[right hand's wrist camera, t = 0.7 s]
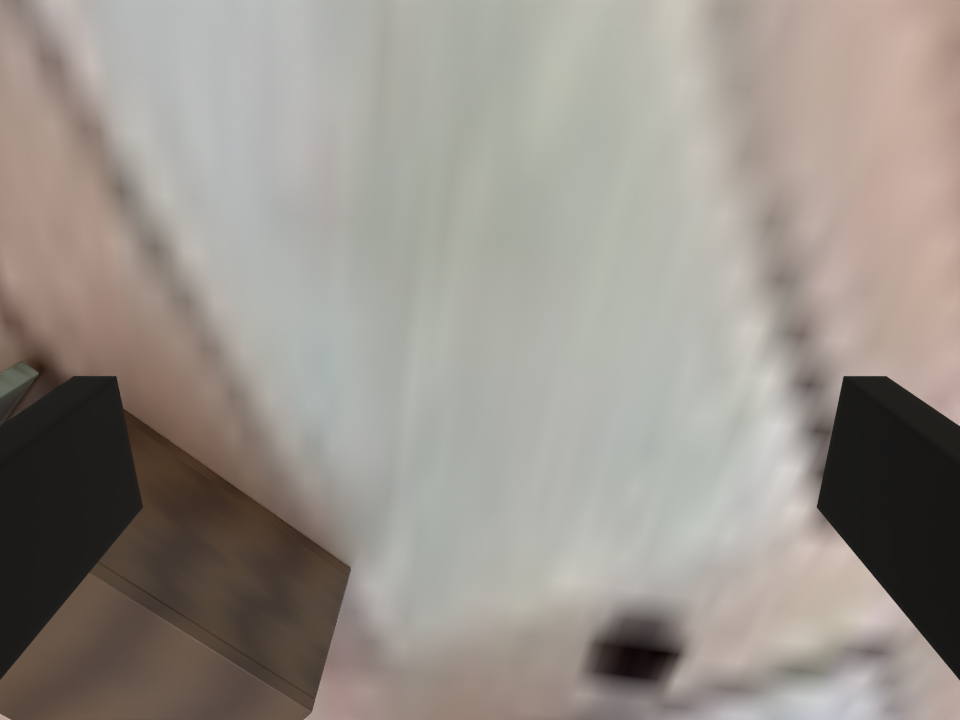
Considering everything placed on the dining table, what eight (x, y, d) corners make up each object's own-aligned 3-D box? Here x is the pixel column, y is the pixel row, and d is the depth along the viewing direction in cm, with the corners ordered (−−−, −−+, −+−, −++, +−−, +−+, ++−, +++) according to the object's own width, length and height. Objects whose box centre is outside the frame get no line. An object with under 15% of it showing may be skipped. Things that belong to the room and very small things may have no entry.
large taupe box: (-10, 493, 44) (-168, 621, 33) (78, 376, 41) (-65, 475, 30) (256, 662, 49) (193, 820, 38) (351, 568, 46) (312, 712, 35)
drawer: (-137, 418, 41) (-313, 508, 32) (-63, 301, 38) (-230, 364, 29) (211, 637, 47) (146, 766, 38) (296, 550, 44) (249, 666, 35)
